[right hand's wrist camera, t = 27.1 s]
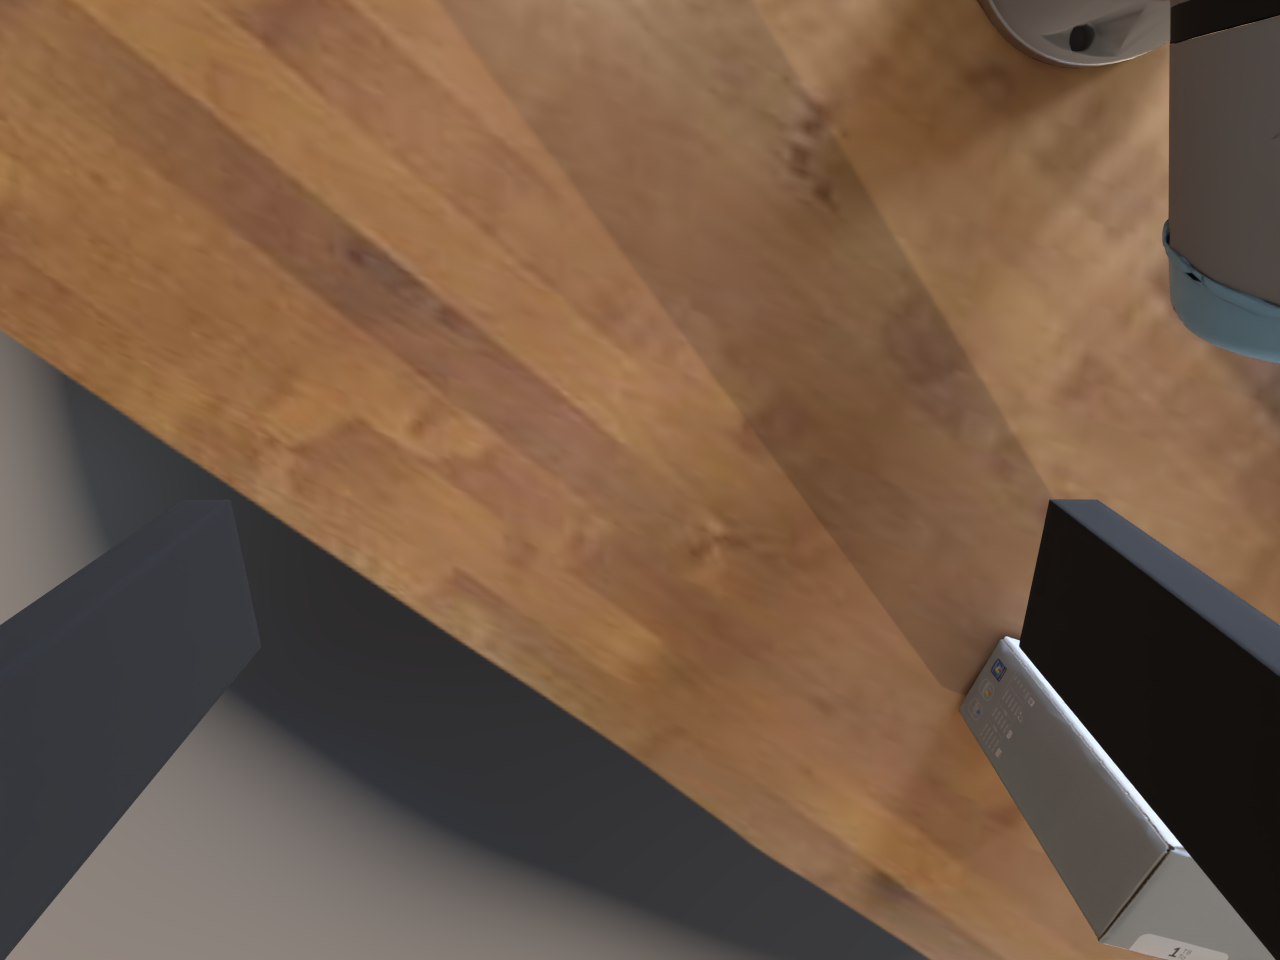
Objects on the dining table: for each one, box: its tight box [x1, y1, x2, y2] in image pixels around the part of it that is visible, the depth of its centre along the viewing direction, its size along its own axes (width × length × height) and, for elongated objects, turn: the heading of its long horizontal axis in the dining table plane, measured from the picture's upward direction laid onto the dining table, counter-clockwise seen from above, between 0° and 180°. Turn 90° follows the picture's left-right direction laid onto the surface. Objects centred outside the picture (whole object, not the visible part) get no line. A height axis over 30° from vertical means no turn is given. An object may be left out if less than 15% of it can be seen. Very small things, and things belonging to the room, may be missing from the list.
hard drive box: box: [959, 637, 1275, 960], centre depth 51 cm, size 16×8×20 cm, turn 71°
